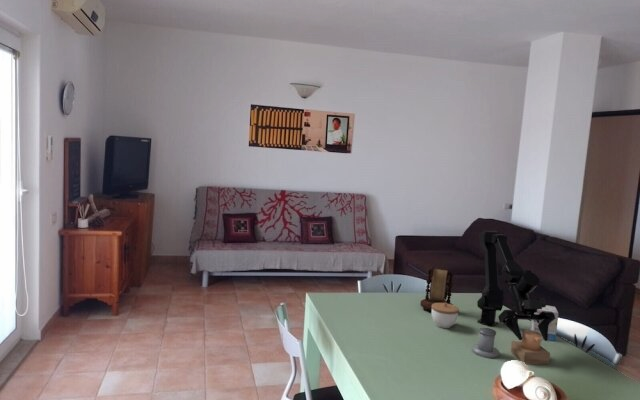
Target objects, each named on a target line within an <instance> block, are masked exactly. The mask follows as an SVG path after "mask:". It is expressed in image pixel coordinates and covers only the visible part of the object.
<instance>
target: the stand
mask: <svg viewBox="0 0 640 400" xmlns="http://www.w3.org/2000/svg"><path fill="white" fill-rule="evenodd" d="M521 342H522V341H520V340H519V341H516V340H515V341H514V340H512V341H511V346H510V353H511V354H512V355H513V356H514V357H516V358H517V359H518V360H519V361H520V362H521V361H523V362H525V363H527V365H528V364H529V365H530V364H531V365H532V364H533V365H549V364H550V355H551V352H549V351H548V350H547V349H546V348H545V347H542V346H541V345H540V350H538V351H533V350H528V349H525V348H523V347H522V346H521ZM523 362H522V363H523Z"/></svg>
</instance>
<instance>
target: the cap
mask: <svg viewBox="0 0 640 400" xmlns="http://www.w3.org/2000/svg"><path fill="white" fill-rule="evenodd" d="M521 336H522V340H521V341H520V342H521V346H522V347H523V348H525V349H528V350H533V351H538V350H540V346H541V343H542V340H543V339H541V336H542V335H541V334H540V333H538V332H536V331H532V330H530V329H524V330H522V332H521Z"/></svg>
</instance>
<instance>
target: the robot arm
mask: <svg viewBox="0 0 640 400" xmlns="http://www.w3.org/2000/svg"><path fill="white" fill-rule="evenodd" d="M478 240H479V246H480V247H481V249H482V250H483V252H484V253H483V254H484V255H483V256H484V274H485V286H484V288H483V290H482V291H481V296H480V298H479V299H478V300H477V301H476V302H477V303H476V306H477V307H478V308H479V309H480V310H481V314H480V319H478V320H477V321H476V322H477V323H480V324H482V325H486V326H489V327H494V326H495V325H498V324H499V323H500V324H503V325H504V326H506V327H507V328H508V329H509V330H510V331H511V332H512V333H513V334H514V335H515V337H516V338H517V339H518V340H519V341H522V332H521V330H520V326H519V323H518V322H519V320H524V321H525V320H526V321H527V320H528V321H531V320H537V323H539V325H538V328H539V330H540V332H541V334H542V337H543V339H542V340H544V341H545V342H547V341H548V340H547V338H548V326H549V324H550V323H551V322H552V321H553V320H554V319H556V318H555V315H554V313H553V312H549V311H542V312H541V313H540V314H539V315H536V314H534V313H536V312H537V309H542V307H546V305H547V303H546V299H545V298H544V297H538V298H537V299H533V298H531V297H529V294H530V293H531V292H533V291H534V289H536V287H538V285H539V284H540V278H539V277H538V276H537V275H536V274H535V273H534V272H532V270H531V269H523V268H522V266H521V264H519V263H518V262H516V260H515V257H514V255H513V252H512V250H511V247H510V245H509V243H508V237H507V235H506V234H501V233H499V232H498V231H497V230H481V232H480V233H479V234H478ZM497 254H498V257H499V260H500V262H501V265H502V269H501V271H500V272H501V277H502V280H503V282H504V283H505V284H512V285H510V286H509V287H508V290H507V293H508V294H510V296H511V298H512V302H513V303H512V308H514V309H515V310H514V309H504V310H503V311H502V309H503V307H504V303H505V297H504V290H503V289H501V288H500V286H499V276H498V274H499V273H498V257H497ZM497 311H499V312H501V311H502V312H501V313H500V314H499V315H498V321H499V322H498V321H496V315H497Z"/></svg>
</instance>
